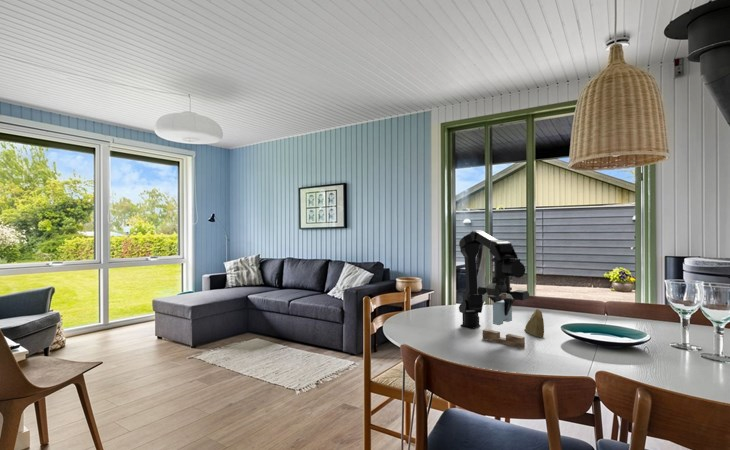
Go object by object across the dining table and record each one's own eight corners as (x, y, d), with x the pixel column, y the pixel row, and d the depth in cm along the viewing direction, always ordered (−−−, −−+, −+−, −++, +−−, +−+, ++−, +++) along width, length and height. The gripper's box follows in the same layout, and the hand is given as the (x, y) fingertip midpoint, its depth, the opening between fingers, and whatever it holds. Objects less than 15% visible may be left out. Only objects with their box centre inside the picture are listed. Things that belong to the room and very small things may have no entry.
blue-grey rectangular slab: (498, 325, 144) (498, 303, 144) (492, 324, 146) (492, 302, 146) (512, 320, 151) (511, 300, 151) (506, 319, 153) (505, 299, 153)
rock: (551, 333, 152) (552, 324, 161) (536, 315, 154) (538, 307, 162) (527, 346, 157) (530, 336, 166) (513, 328, 159) (517, 320, 167)
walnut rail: (482, 338, 154) (482, 329, 154) (485, 337, 155) (485, 328, 155) (521, 347, 142) (521, 338, 142) (524, 346, 143) (524, 337, 143)
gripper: (469, 274, 150) (469, 314, 150) (515, 278, 136) (515, 323, 136) (484, 271, 158) (484, 309, 158) (529, 275, 144) (530, 317, 144)
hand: (502, 315), depth 149 cm, fingers closed on blue-grey rectangular slab, 2 cm apart
